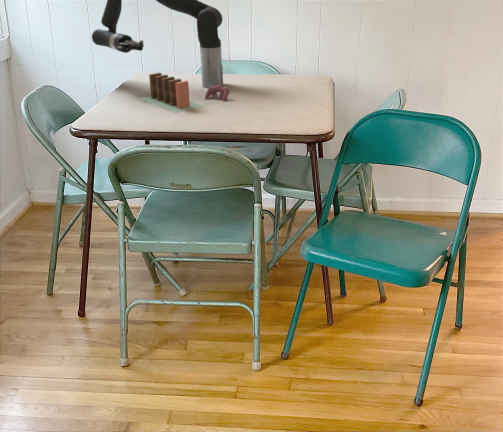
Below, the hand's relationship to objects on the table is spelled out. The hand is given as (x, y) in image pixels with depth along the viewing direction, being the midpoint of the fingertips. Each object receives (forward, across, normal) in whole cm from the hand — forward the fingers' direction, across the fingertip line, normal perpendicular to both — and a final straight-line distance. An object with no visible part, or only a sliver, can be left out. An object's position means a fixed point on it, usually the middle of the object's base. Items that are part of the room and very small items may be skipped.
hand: (140, 47), depth 265 cm
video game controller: (+29, +18, +20) cm, 39 cm away
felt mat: (+20, 0, +20) cm, 28 cm away
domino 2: (+15, 0, +19) cm, 24 cm away
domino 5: (+30, 0, +19) cm, 36 cm away
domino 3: (+20, 0, +19) cm, 28 cm away
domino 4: (+25, 0, +19) cm, 32 cm away
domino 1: (+10, 0, +19) cm, 22 cm away
